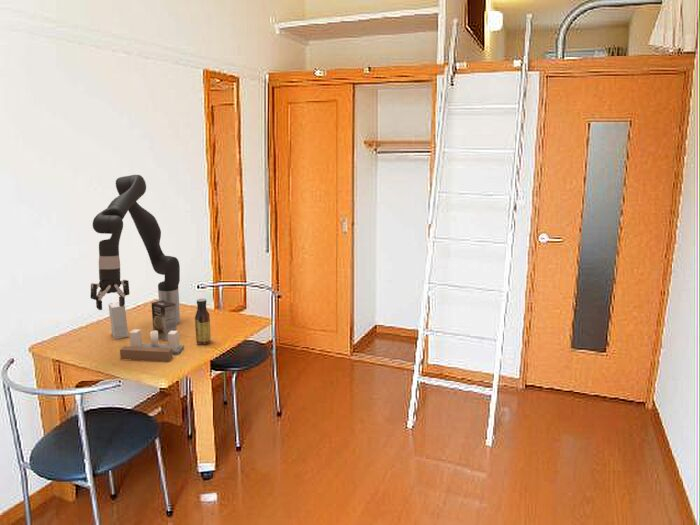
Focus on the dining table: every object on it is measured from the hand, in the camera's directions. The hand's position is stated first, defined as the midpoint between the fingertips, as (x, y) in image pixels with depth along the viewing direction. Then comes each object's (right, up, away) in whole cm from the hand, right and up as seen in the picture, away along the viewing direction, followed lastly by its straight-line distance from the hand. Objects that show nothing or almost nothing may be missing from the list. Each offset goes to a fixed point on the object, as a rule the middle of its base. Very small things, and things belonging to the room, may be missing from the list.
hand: (110, 308), depth 209 cm
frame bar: (+11, -22, +8) cm, 25 cm away
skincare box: (-11, -16, +33) cm, 38 cm away
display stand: (+11, -19, +16) cm, 28 cm away
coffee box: (+10, -16, +32) cm, 37 cm away
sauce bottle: (+29, -18, +26) cm, 43 cm away
